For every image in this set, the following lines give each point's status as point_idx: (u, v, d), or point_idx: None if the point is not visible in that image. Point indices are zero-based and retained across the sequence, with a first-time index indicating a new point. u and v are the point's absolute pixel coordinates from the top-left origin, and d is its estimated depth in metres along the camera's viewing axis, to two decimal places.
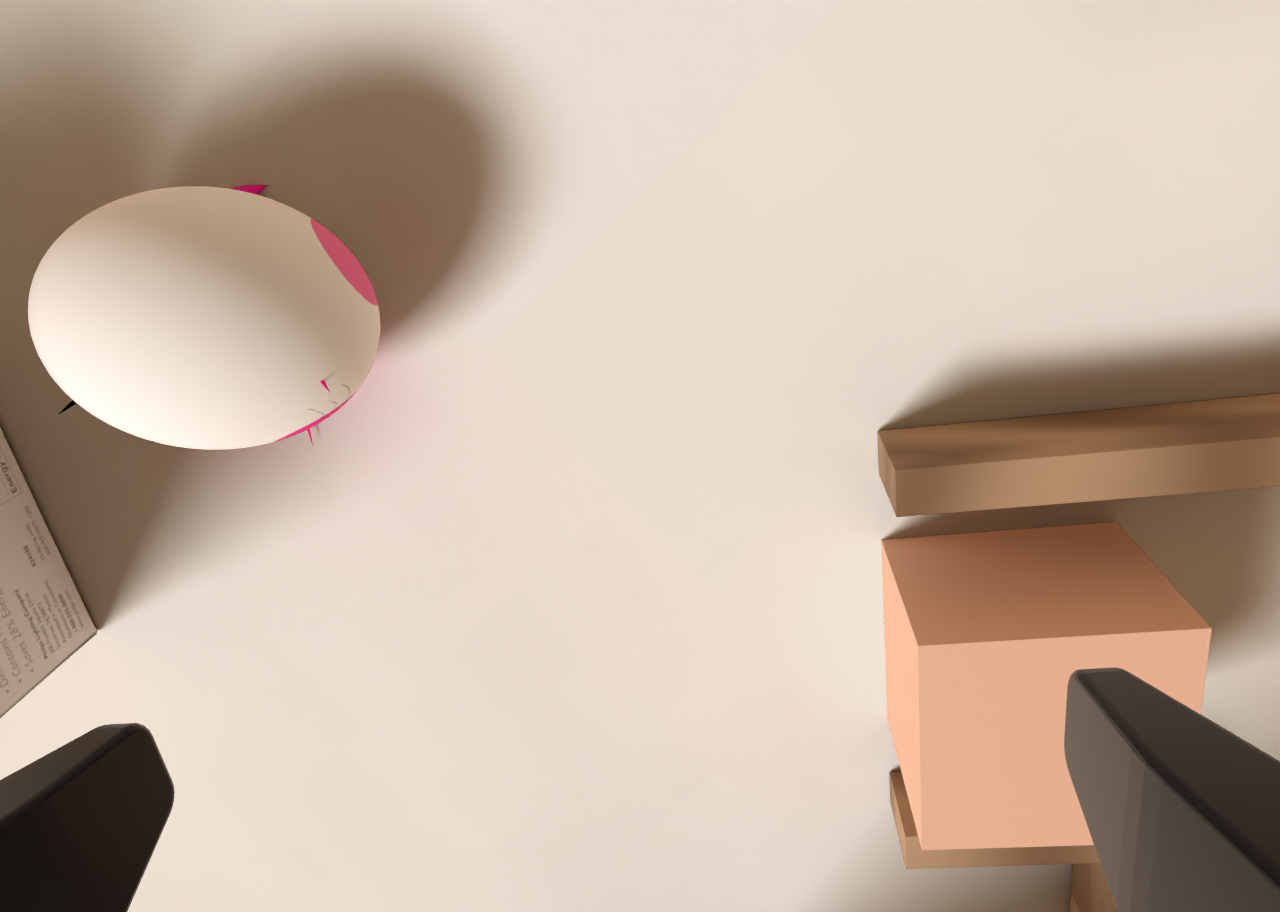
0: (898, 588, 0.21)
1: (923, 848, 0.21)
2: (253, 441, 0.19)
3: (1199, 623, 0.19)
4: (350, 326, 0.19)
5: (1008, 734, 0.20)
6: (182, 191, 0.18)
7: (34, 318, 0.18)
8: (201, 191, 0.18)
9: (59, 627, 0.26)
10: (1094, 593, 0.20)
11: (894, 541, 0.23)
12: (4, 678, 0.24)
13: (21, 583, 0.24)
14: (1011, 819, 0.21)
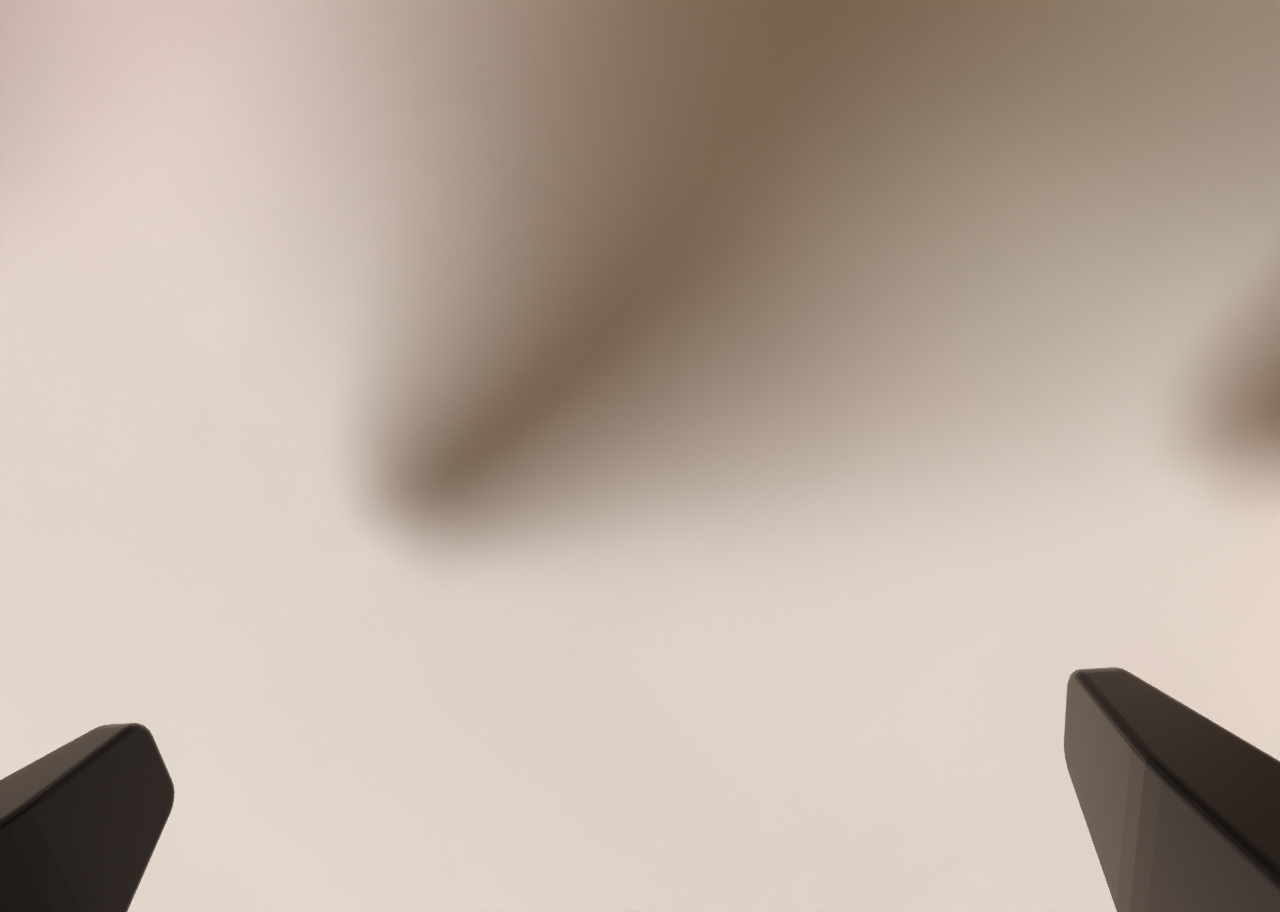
0: None
1: None
2: None
3: None
4: None
5: None
6: None
7: None
8: None
9: None
10: None
11: None
12: None
13: None
14: None
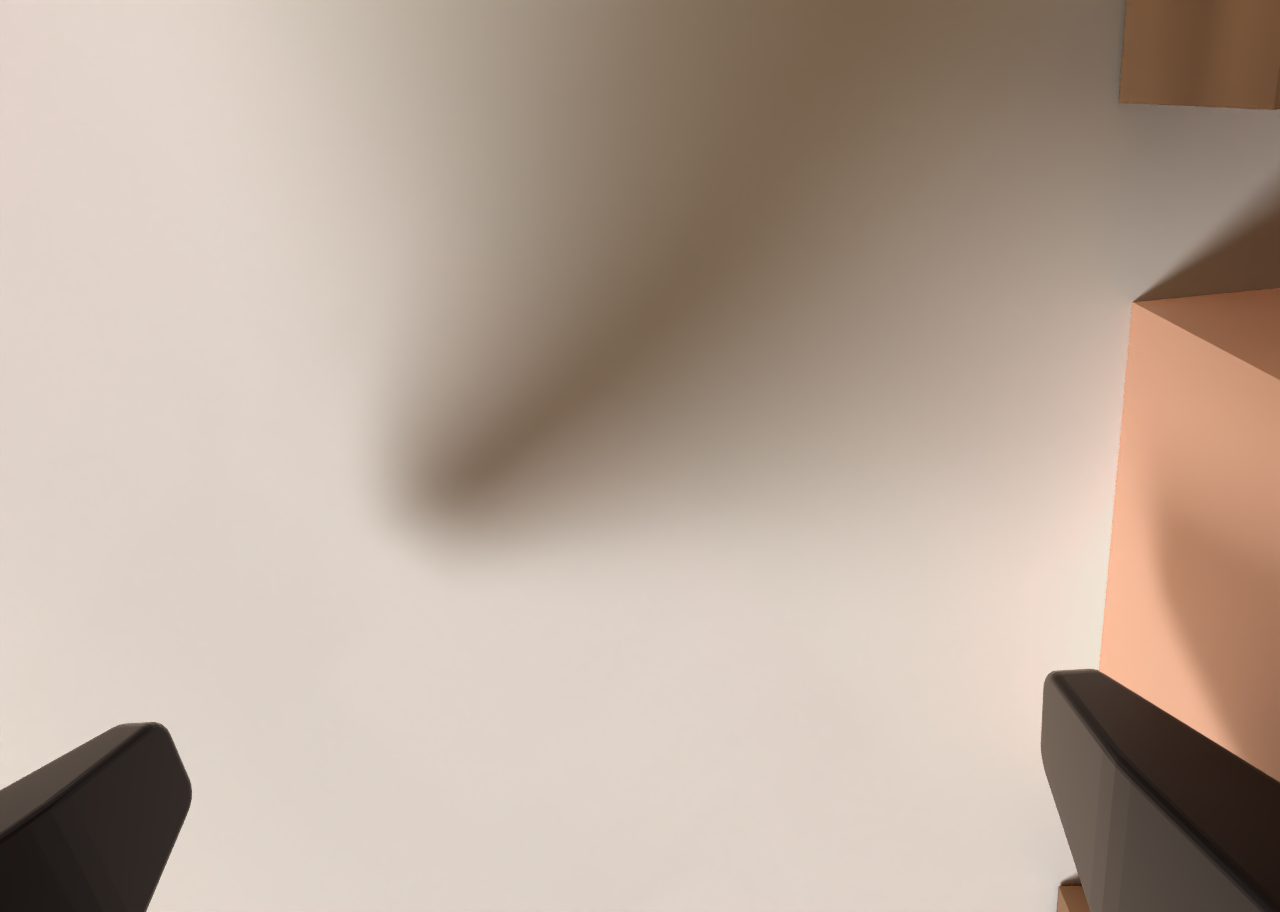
0: None
1: None
2: None
3: None
4: None
5: None
6: None
7: None
8: None
9: None
10: None
11: (1177, 304, 0.09)
12: None
13: None
14: None
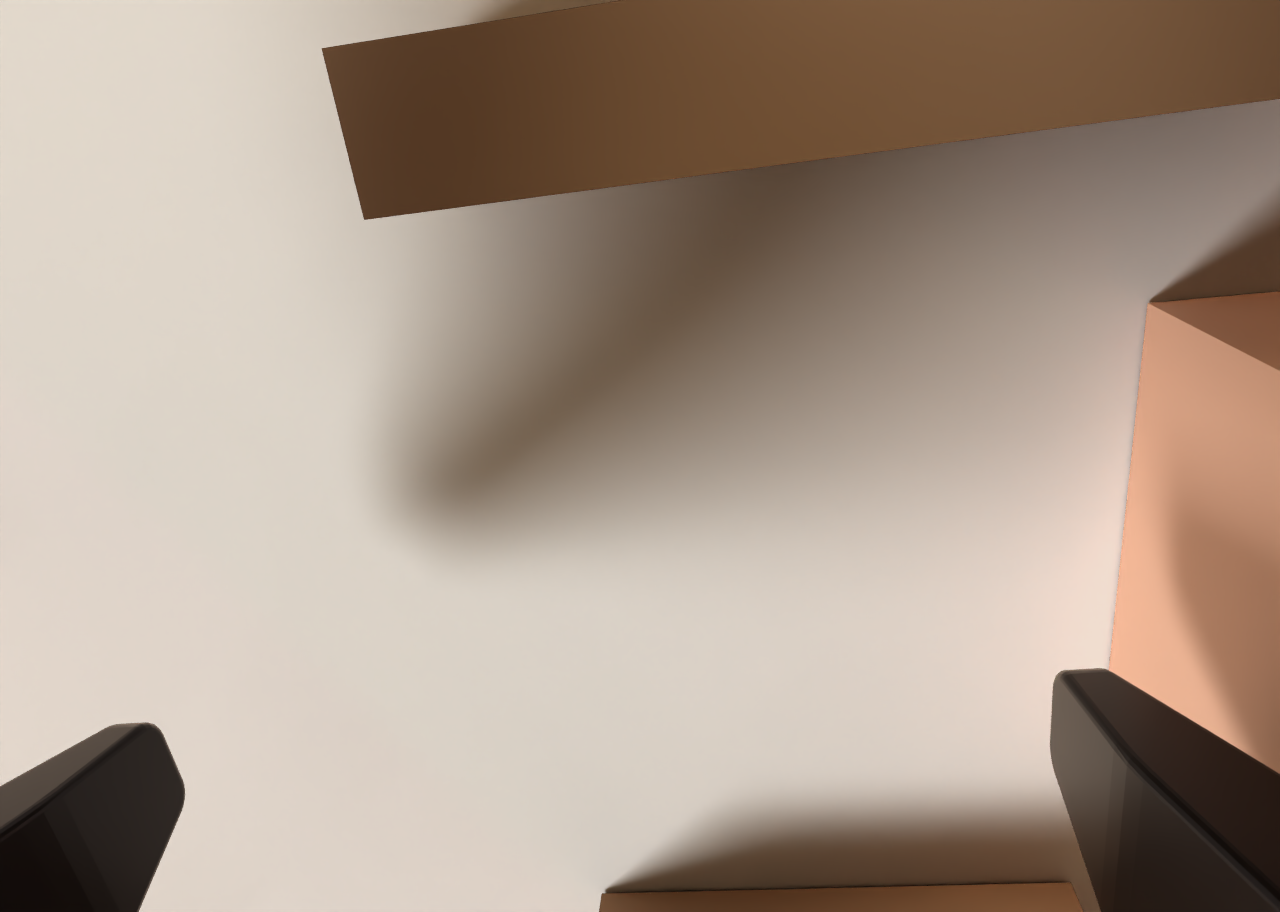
0: None
1: None
2: None
3: None
4: None
5: None
6: None
7: None
8: None
9: None
10: None
11: (1195, 306, 0.09)
12: None
13: None
14: None
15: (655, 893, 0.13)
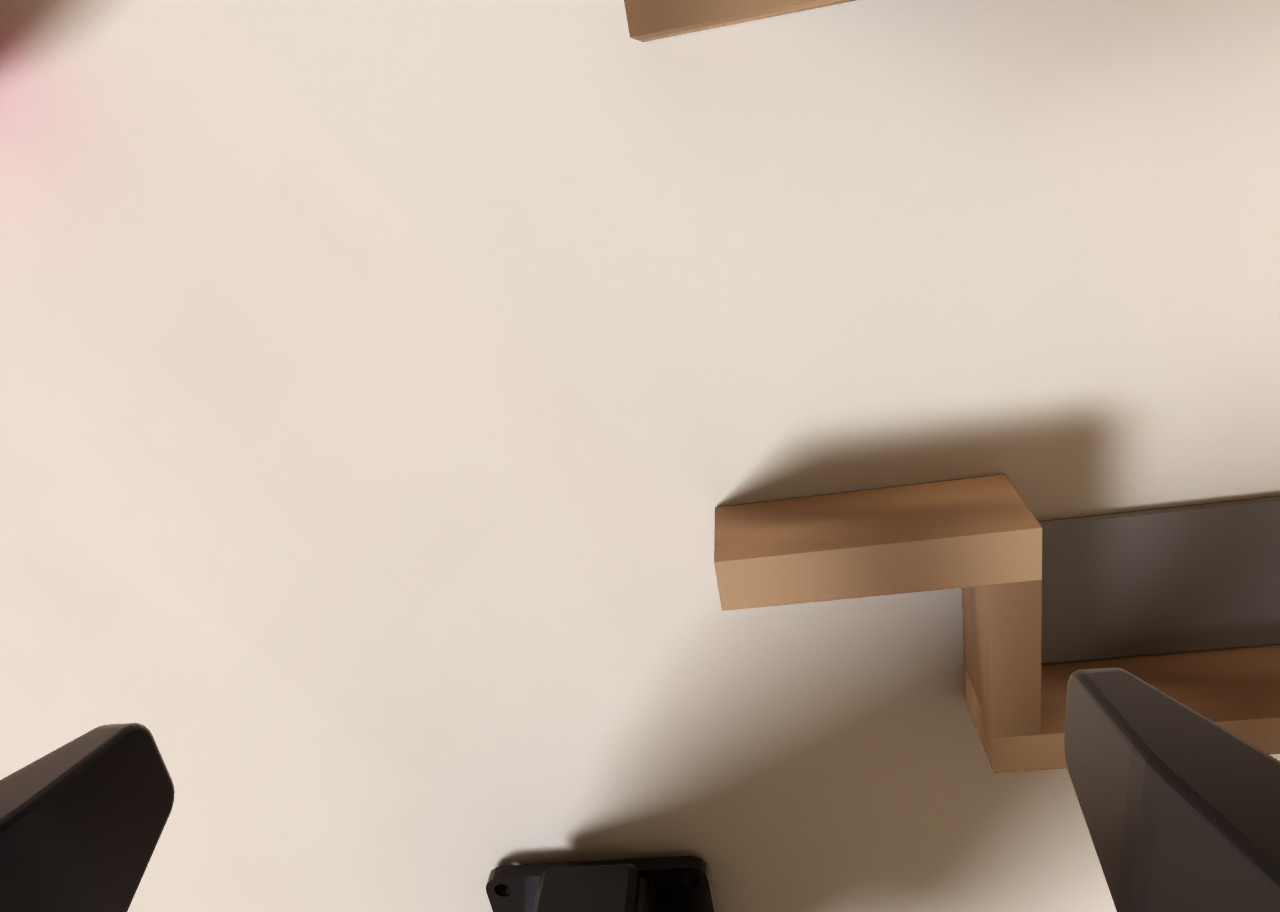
0: None
1: None
2: None
3: None
4: None
5: None
6: None
7: None
8: None
9: None
10: None
11: None
12: None
13: None
14: None
15: None
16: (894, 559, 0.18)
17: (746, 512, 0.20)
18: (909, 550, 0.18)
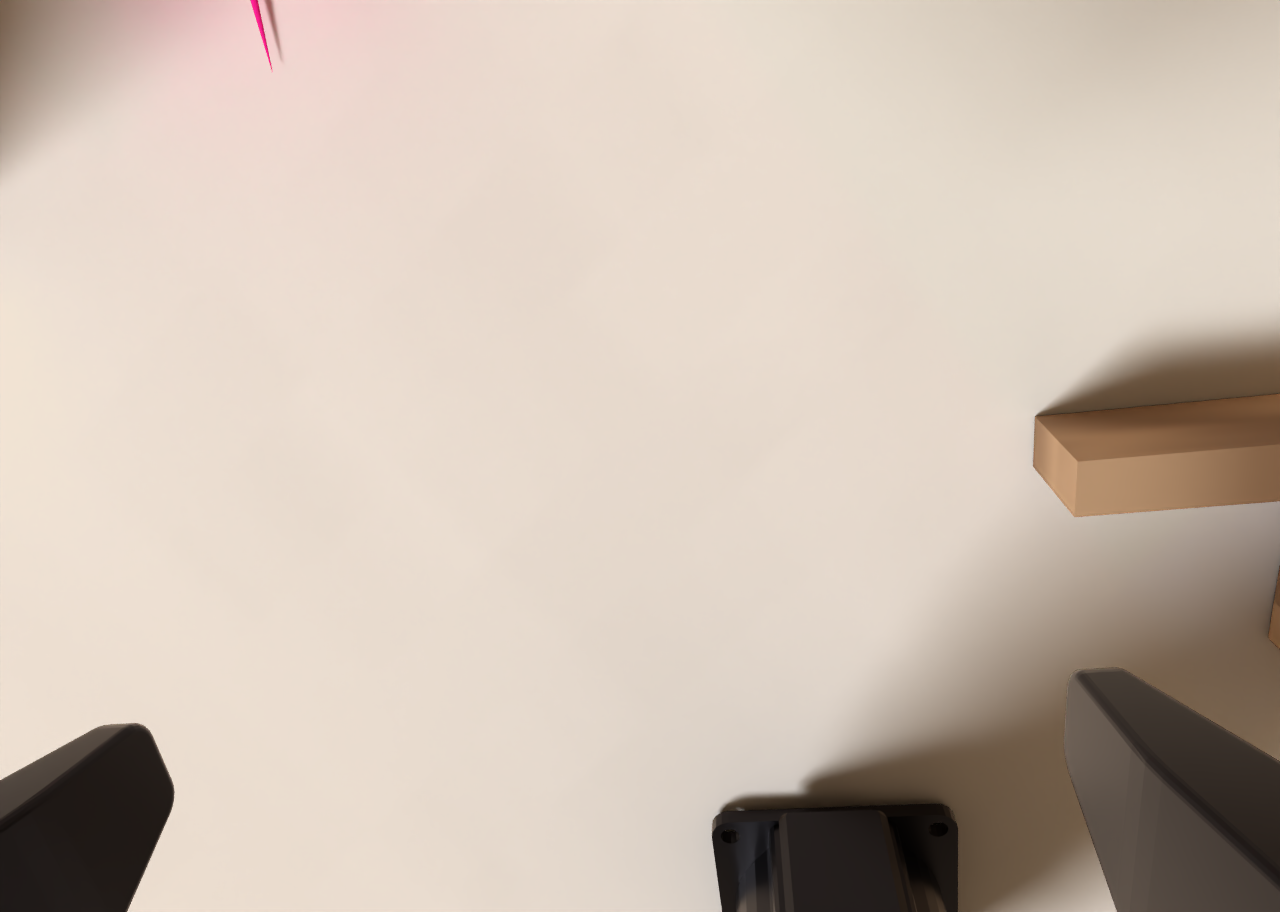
0: None
1: None
2: None
3: None
4: None
5: None
6: None
7: None
8: None
9: None
10: None
11: None
12: None
13: None
14: None
15: None
16: (1279, 462, 0.17)
17: (1076, 419, 0.19)
18: None
